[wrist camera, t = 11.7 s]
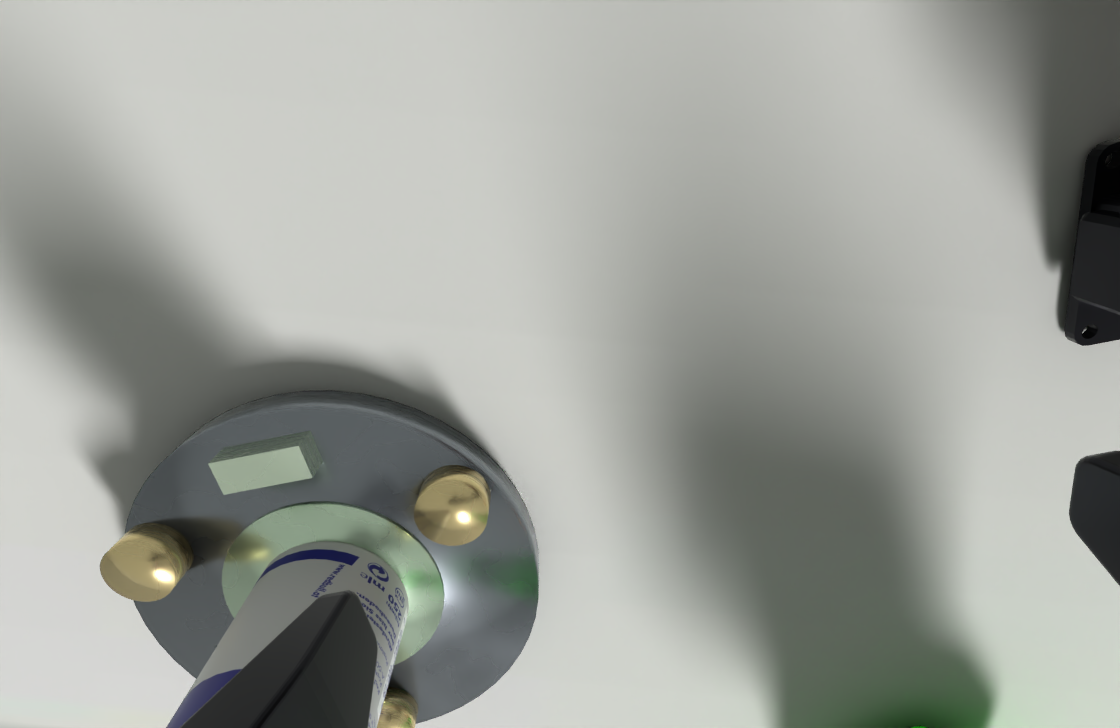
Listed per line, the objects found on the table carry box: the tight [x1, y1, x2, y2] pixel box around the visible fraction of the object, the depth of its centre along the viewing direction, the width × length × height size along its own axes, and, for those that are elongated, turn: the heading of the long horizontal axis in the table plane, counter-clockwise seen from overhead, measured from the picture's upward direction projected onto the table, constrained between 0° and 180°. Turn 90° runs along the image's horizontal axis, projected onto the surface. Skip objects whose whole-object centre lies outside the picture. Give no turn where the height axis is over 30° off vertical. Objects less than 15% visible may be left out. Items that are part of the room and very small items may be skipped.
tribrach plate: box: [100, 391, 539, 728], centre depth 22 cm, size 15×15×3 cm
